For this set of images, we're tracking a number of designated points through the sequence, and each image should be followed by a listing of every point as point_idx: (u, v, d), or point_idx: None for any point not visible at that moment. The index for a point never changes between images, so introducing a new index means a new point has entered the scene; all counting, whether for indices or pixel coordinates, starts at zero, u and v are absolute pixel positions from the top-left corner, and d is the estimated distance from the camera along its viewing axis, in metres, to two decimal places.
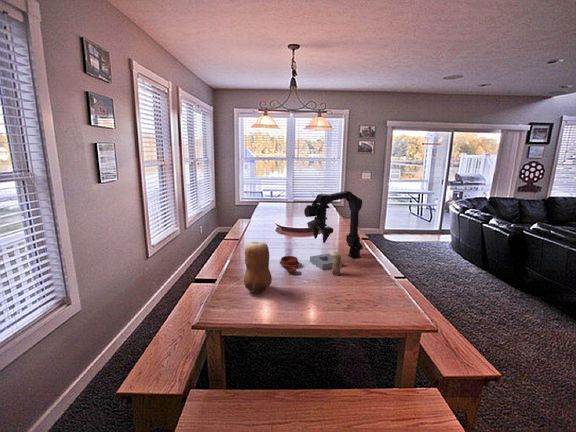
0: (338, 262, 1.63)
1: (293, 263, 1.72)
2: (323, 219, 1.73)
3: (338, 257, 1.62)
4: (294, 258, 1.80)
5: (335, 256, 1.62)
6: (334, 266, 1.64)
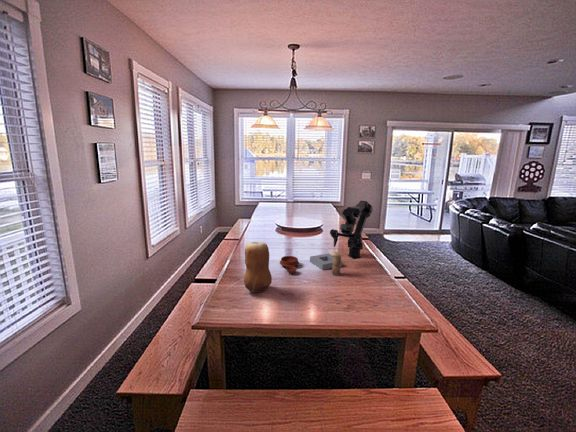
0: (338, 262, 1.63)
1: (293, 263, 1.72)
2: (353, 228, 1.74)
3: (338, 257, 1.62)
4: (294, 258, 1.80)
5: (335, 256, 1.62)
6: (334, 266, 1.64)
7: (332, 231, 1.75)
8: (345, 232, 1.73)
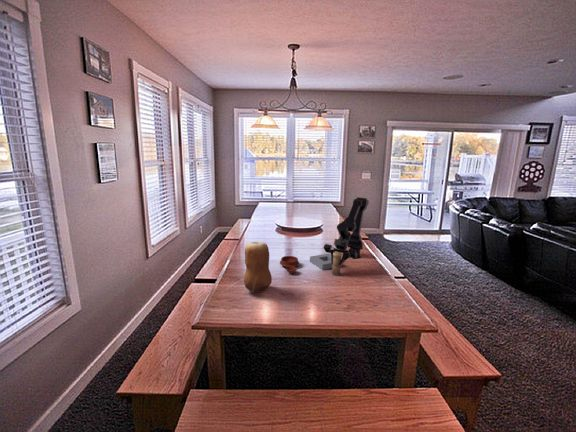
0: (338, 262, 1.63)
1: (293, 263, 1.72)
2: (347, 243, 1.68)
3: (338, 257, 1.62)
4: (294, 258, 1.80)
5: (335, 256, 1.62)
6: (334, 266, 1.64)
7: (326, 246, 1.69)
8: (339, 247, 1.67)
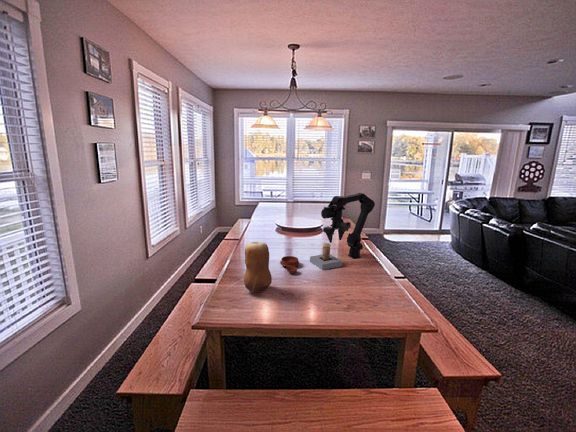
0: (326, 252, 1.77)
1: (293, 263, 1.72)
2: None
3: (326, 248, 1.76)
4: (294, 258, 1.80)
5: (323, 247, 1.77)
6: (323, 256, 1.78)
7: (332, 232, 1.74)
8: None
